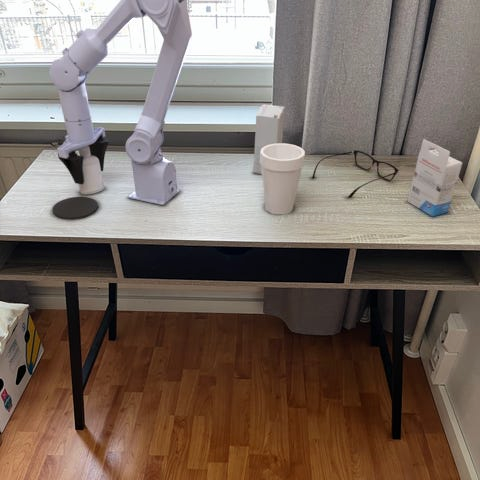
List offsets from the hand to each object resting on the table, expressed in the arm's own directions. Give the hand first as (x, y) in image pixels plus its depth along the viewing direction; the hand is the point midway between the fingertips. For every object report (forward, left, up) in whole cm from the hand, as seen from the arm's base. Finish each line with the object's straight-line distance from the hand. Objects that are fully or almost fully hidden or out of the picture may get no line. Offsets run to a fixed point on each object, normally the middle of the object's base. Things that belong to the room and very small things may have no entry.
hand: (89, 176), depth 117 cm
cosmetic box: (-34, -29, -4) cm, 45 cm away
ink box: (-75, -24, -4) cm, 79 cm away
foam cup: (-44, -10, -4) cm, 45 cm away
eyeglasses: (-56, -31, -4) cm, 64 cm away
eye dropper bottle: (0, 0, -4) cm, 4 cm away
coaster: (-2, +9, -4) cm, 10 cm away
